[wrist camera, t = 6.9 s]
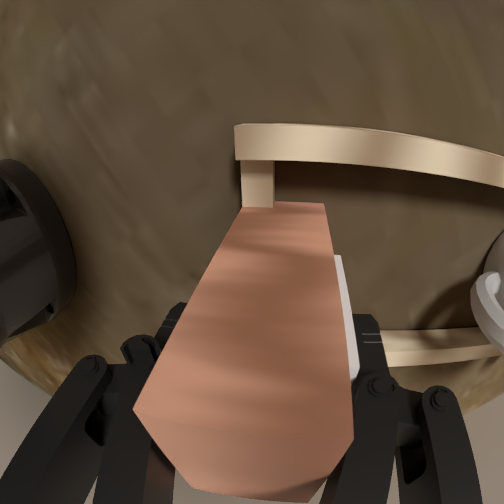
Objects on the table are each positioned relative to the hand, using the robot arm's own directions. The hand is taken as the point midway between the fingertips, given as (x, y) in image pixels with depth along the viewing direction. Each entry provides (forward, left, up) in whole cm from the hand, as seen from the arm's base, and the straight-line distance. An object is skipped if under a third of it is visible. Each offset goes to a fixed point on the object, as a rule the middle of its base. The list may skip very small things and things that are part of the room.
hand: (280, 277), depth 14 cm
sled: (+10, 0, -3) cm, 10 cm away
